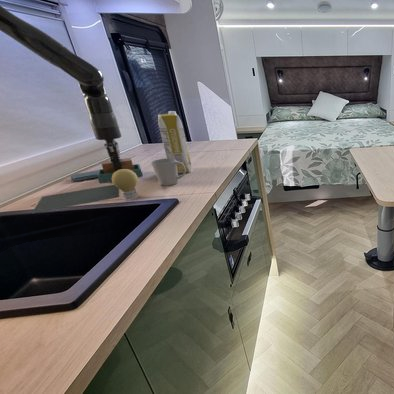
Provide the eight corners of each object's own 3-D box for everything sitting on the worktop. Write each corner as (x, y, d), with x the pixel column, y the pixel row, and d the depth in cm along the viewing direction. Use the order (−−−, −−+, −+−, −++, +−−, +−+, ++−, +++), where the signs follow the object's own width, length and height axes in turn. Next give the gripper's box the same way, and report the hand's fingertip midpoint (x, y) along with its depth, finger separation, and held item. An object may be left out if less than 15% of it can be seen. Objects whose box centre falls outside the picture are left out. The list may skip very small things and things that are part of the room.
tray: (100, 184, 106) (96, 175, 105) (100, 178, 113) (97, 169, 111) (143, 177, 113) (140, 168, 112) (141, 172, 120) (139, 163, 119)
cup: (160, 181, 109) (154, 159, 105) (189, 178, 112) (184, 156, 108) (155, 188, 102) (148, 164, 99) (186, 184, 105) (181, 161, 102)
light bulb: (117, 200, 92) (106, 169, 88) (140, 194, 96) (131, 165, 93) (121, 205, 88) (111, 174, 84) (146, 199, 92) (137, 169, 89)
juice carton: (193, 172, 119) (180, 111, 110) (171, 175, 115) (155, 113, 106) (190, 167, 126) (177, 109, 117) (169, 170, 122) (154, 111, 113)
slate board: (32, 215, 82) (31, 213, 82) (42, 198, 94) (42, 196, 94) (119, 198, 93) (119, 196, 93) (119, 185, 105) (118, 183, 105)
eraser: (105, 177, 108) (101, 164, 106) (106, 174, 112) (101, 161, 110) (135, 172, 113) (131, 160, 111) (134, 169, 117) (130, 157, 115)
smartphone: (70, 174, 113) (117, 166, 122) (72, 178, 114) (119, 169, 123) (70, 179, 108) (119, 169, 117) (72, 183, 109) (121, 173, 117)
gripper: (92, 124, 109) (107, 167, 115) (90, 128, 98) (106, 176, 104) (117, 122, 113) (130, 164, 119) (118, 126, 102) (132, 172, 108)
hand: (119, 169), depth 112 cm, fingers open, 5 cm apart
